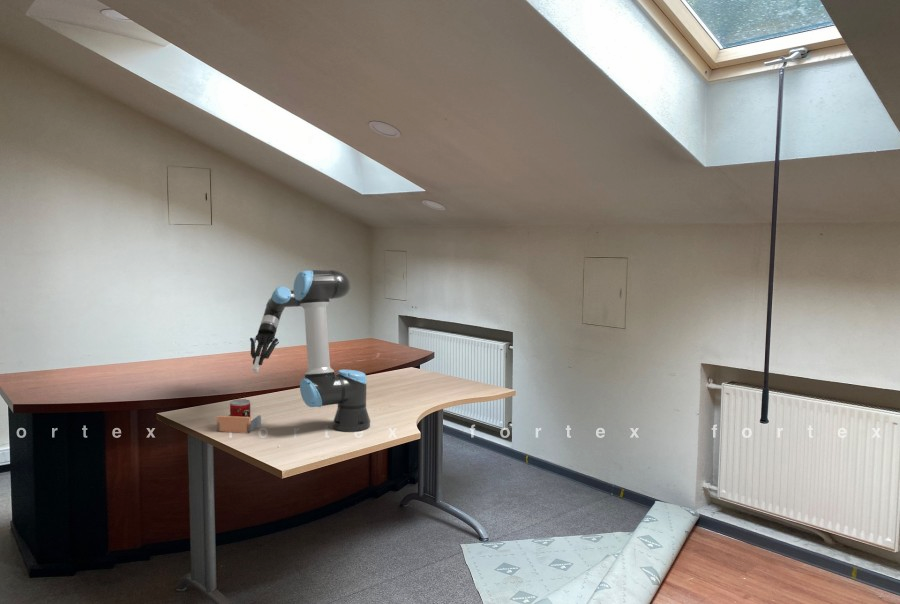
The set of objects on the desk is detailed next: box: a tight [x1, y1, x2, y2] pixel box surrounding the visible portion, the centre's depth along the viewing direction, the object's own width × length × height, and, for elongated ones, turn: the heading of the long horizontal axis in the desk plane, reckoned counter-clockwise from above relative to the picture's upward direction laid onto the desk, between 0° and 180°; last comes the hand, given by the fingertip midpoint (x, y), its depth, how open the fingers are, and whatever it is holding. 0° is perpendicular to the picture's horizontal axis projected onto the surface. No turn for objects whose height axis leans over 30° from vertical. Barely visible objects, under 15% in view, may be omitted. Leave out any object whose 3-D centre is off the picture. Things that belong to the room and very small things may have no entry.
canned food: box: [229, 398, 251, 417], centre depth 248 cm, size 8×8×11 cm
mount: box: [216, 414, 262, 434], centre depth 249 cm, size 13×12×6 cm
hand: (255, 370), depth 264 cm, fingers closed
